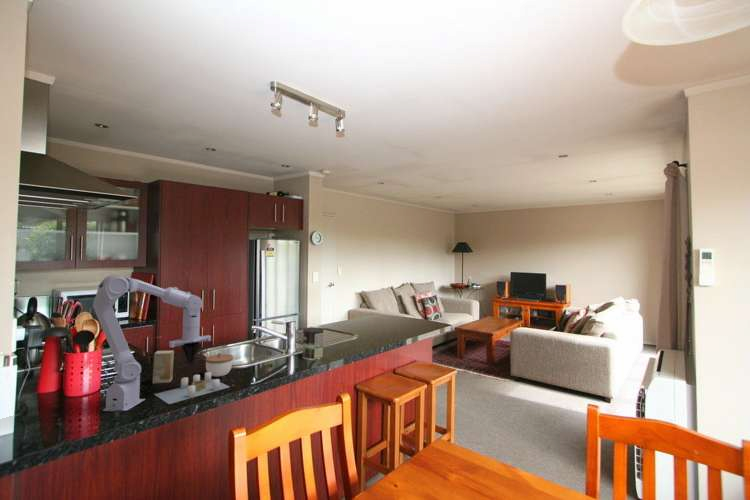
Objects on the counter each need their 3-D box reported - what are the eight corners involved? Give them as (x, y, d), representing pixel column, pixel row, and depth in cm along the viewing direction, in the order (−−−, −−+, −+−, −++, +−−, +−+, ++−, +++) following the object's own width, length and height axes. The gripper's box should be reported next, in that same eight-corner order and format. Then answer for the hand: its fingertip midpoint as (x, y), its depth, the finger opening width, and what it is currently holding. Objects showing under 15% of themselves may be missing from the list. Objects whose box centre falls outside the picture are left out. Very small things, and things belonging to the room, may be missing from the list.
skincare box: (152, 384, 142) (153, 353, 142) (155, 381, 146) (156, 350, 147) (170, 383, 144) (171, 352, 144) (173, 380, 148) (174, 349, 148)
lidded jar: (199, 377, 152) (199, 354, 152) (219, 370, 162) (220, 348, 162) (217, 381, 148) (218, 358, 148) (238, 373, 157) (238, 352, 157)
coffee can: (303, 360, 178) (304, 332, 179) (301, 355, 188) (302, 327, 189) (324, 359, 182) (325, 331, 182) (321, 354, 191) (321, 327, 192)
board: (168, 405, 123) (169, 393, 123) (154, 395, 131) (154, 384, 131) (230, 388, 140) (230, 377, 140) (213, 380, 148) (213, 370, 148)
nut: (204, 390, 136) (204, 384, 136) (189, 391, 135) (189, 384, 135) (207, 386, 140) (207, 380, 140) (193, 387, 139) (193, 380, 139)
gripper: (175, 331, 129) (174, 369, 129) (215, 325, 140) (214, 361, 140) (167, 328, 134) (166, 365, 133) (206, 323, 145) (205, 357, 145)
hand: (190, 363), depth 137 cm, fingers closed
